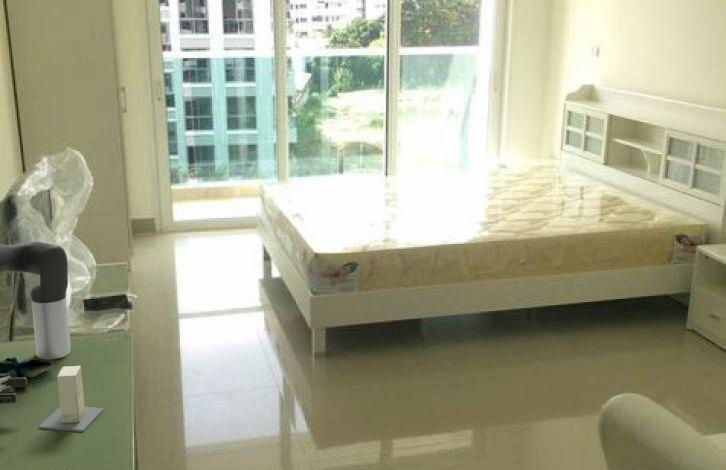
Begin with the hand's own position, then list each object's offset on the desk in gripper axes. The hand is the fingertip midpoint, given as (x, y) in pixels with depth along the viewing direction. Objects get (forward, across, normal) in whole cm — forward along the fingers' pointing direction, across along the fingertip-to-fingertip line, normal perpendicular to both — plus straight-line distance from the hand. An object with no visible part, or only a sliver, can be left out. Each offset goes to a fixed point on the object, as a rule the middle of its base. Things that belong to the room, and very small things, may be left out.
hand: (21, 389), depth 178 cm
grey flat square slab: (+11, 0, +8) cm, 14 cm away
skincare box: (+11, 0, +8) cm, 14 cm away
